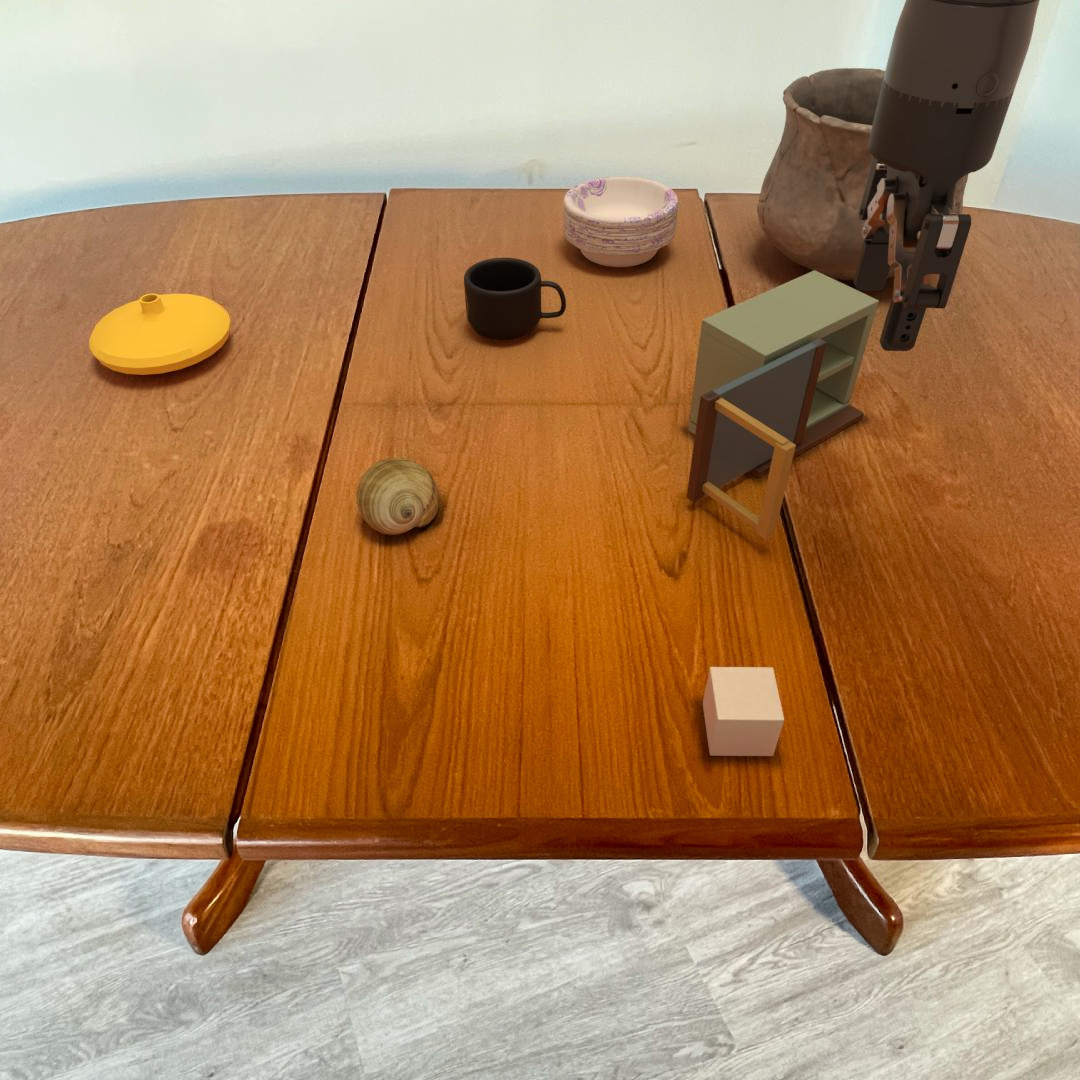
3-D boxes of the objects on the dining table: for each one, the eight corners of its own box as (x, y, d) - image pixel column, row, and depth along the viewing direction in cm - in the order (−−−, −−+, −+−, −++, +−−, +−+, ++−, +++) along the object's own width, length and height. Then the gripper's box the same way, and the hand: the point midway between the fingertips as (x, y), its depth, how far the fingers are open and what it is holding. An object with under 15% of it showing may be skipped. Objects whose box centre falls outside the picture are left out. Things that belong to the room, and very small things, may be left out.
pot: (920, 230, 125) (969, 66, 111) (960, 313, 108) (1024, 132, 94) (742, 224, 127) (767, 62, 112) (755, 305, 110) (786, 127, 96)
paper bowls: (580, 223, 128) (581, 168, 123) (683, 236, 125) (689, 180, 119) (548, 270, 118) (548, 212, 112) (660, 286, 114) (665, 227, 109)
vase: (217, 389, 98) (200, 334, 93) (77, 391, 98) (52, 336, 93) (250, 317, 110) (236, 264, 105) (124, 319, 110) (104, 266, 105)
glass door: (868, 483, 84) (901, 381, 76) (758, 551, 77) (781, 447, 69) (795, 437, 89) (818, 337, 81) (686, 497, 83) (700, 395, 75)
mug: (461, 346, 104) (456, 291, 99) (474, 308, 111) (470, 254, 106) (561, 351, 103) (562, 296, 98) (569, 313, 110) (570, 259, 105)
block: (762, 704, 67) (773, 666, 64) (773, 756, 64) (784, 720, 60) (702, 703, 67) (709, 666, 64) (709, 756, 64) (717, 719, 61)
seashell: (386, 521, 88) (323, 487, 83) (426, 464, 88) (366, 425, 82) (428, 565, 81) (363, 531, 76) (472, 503, 81) (409, 464, 75)
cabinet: (862, 419, 93) (895, 308, 84) (758, 478, 86) (781, 364, 77) (790, 377, 99) (814, 269, 90) (687, 430, 92) (702, 319, 83)
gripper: (861, 43, 58) (811, 271, 70) (917, 117, 48) (849, 370, 59) (976, 43, 58) (908, 272, 69) (1057, 117, 48) (962, 372, 59)
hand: (881, 317), depth 64 cm, fingers open, 8 cm apart
